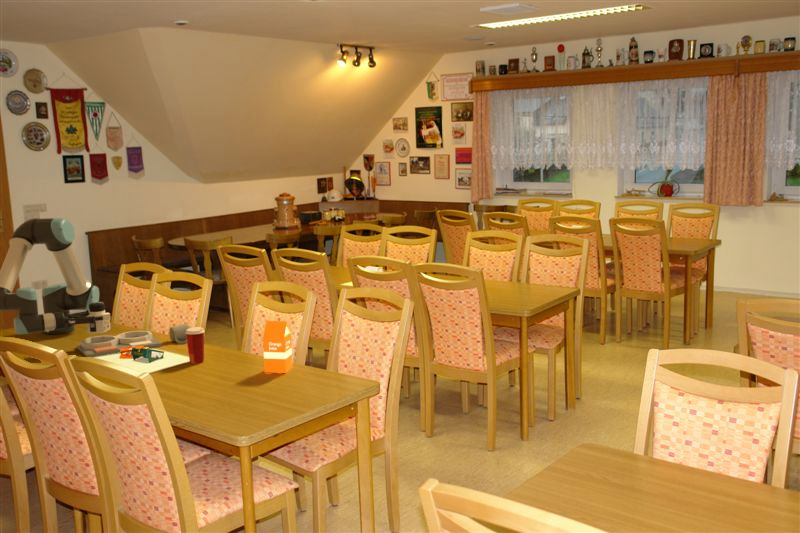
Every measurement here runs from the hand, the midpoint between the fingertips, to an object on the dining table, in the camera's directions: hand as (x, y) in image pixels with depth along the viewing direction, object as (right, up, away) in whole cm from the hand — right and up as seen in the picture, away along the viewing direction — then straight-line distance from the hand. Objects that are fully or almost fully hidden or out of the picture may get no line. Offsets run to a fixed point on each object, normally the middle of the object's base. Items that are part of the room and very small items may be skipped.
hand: (107, 314), depth 345 cm
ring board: (+5, -15, +2) cm, 15 cm away
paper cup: (+47, -18, -27) cm, 57 cm away
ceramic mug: (+31, -13, +9) cm, 35 cm away
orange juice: (+84, -20, -43) cm, 96 cm away
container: (-3, -8, -1) cm, 8 cm away
